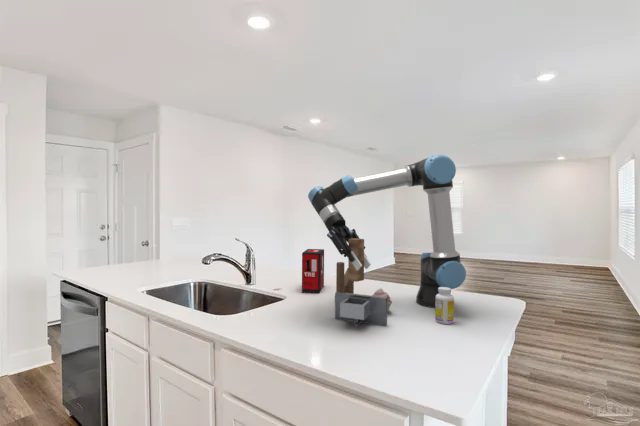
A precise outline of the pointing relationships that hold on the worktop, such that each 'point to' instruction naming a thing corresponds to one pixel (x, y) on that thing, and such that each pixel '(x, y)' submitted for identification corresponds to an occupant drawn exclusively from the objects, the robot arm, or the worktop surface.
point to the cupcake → (383, 294)
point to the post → (358, 249)
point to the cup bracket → (361, 308)
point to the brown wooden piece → (343, 280)
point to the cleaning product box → (312, 271)
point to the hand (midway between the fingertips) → (364, 267)
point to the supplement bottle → (444, 306)
